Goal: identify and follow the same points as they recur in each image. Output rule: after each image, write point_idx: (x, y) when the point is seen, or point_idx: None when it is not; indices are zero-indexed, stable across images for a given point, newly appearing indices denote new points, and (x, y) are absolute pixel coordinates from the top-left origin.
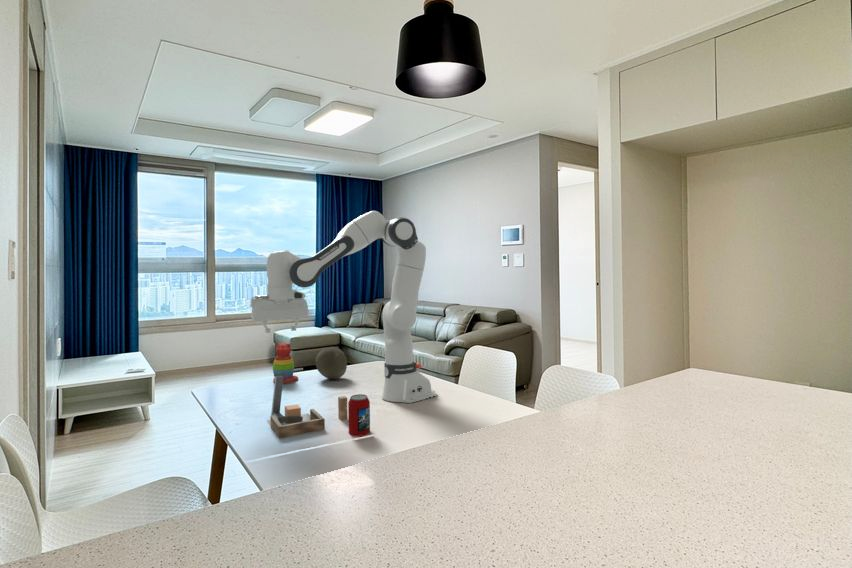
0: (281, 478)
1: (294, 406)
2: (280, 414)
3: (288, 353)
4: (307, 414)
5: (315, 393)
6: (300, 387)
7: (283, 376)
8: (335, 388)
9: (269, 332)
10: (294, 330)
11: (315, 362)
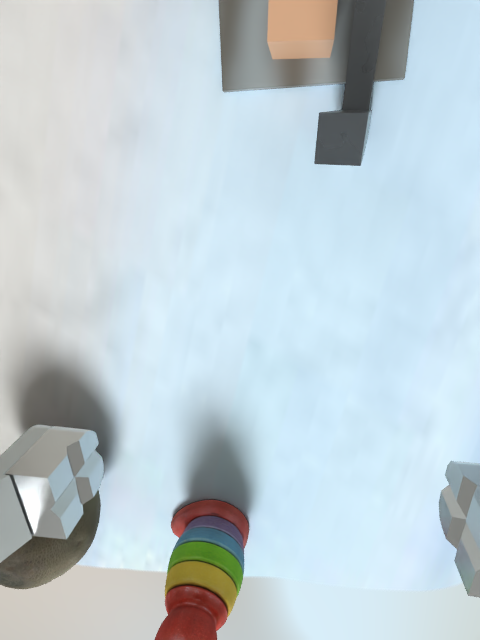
0: None
1: (292, 4)
2: (357, 26)
3: (173, 614)
4: (229, 76)
5: (148, 354)
6: (182, 442)
7: (218, 524)
8: (77, 372)
9: (465, 462)
10: (62, 427)
11: (92, 536)
